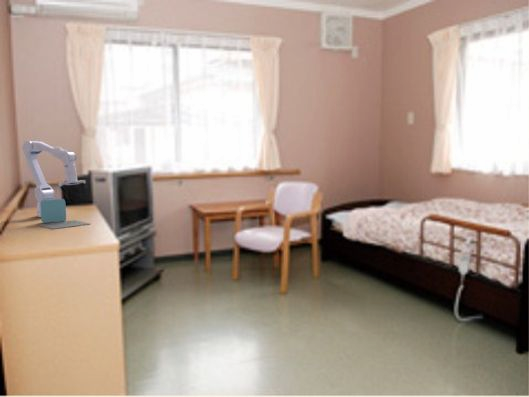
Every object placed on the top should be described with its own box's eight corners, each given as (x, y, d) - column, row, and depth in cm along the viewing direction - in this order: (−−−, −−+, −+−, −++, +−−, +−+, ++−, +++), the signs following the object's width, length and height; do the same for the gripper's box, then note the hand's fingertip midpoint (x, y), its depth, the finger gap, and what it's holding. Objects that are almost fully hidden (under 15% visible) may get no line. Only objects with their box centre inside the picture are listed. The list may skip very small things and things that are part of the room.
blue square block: (66, 220, 253) (65, 198, 252) (66, 221, 248) (65, 199, 248) (42, 222, 248) (40, 200, 247) (41, 223, 244) (40, 200, 243)
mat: (37, 225, 238) (37, 224, 238) (75, 220, 253) (75, 220, 253) (52, 229, 228) (52, 228, 228) (90, 224, 243) (90, 223, 243)
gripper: (61, 174, 251) (65, 199, 252) (86, 171, 262) (90, 195, 263) (55, 175, 256) (59, 199, 257) (80, 172, 266) (84, 196, 267)
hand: (74, 197), depth 260 cm, fingers open, 7 cm apart
